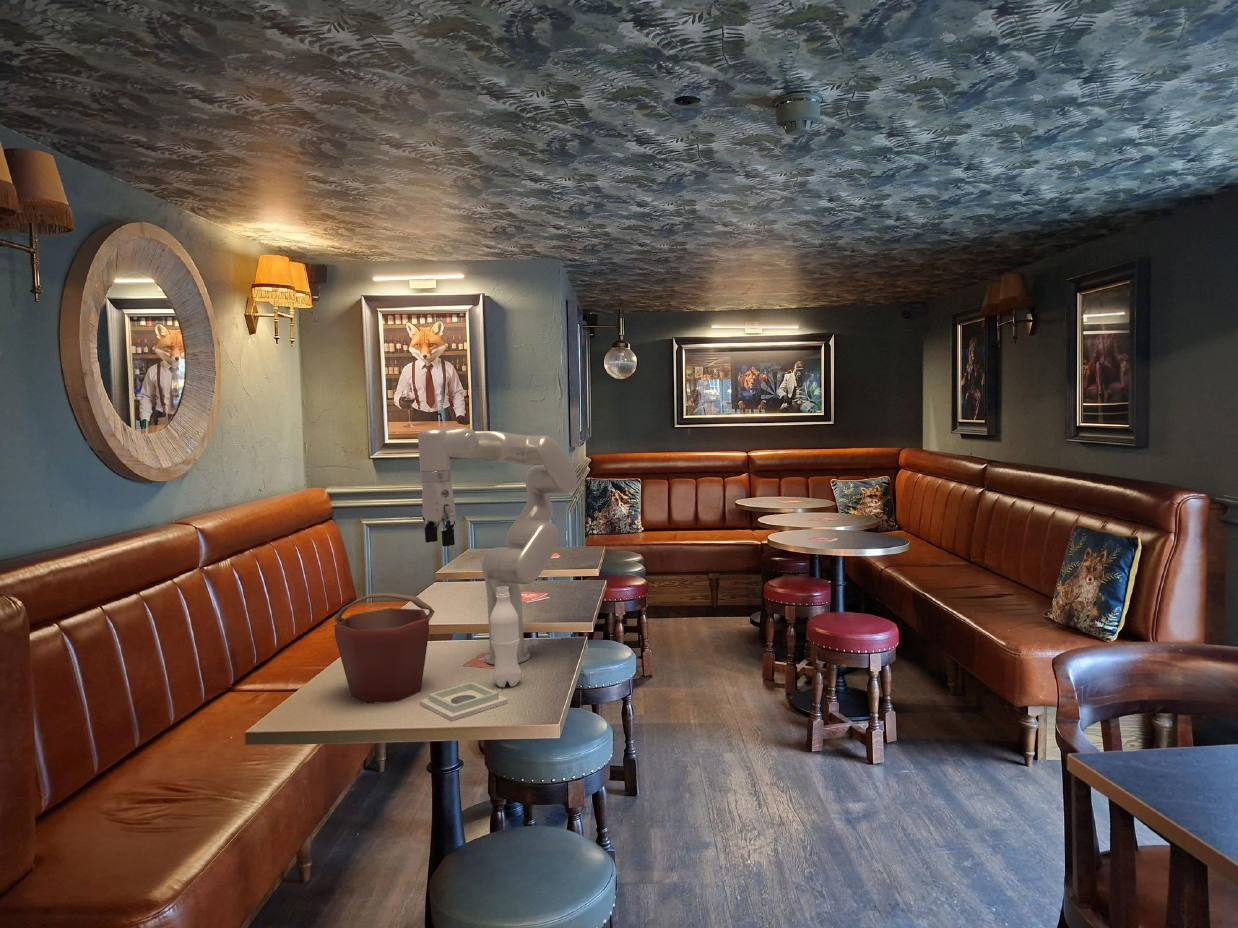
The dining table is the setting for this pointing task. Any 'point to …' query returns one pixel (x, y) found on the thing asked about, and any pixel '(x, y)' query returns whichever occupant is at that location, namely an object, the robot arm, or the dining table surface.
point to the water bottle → (505, 639)
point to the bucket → (384, 649)
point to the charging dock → (462, 701)
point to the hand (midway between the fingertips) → (439, 543)
